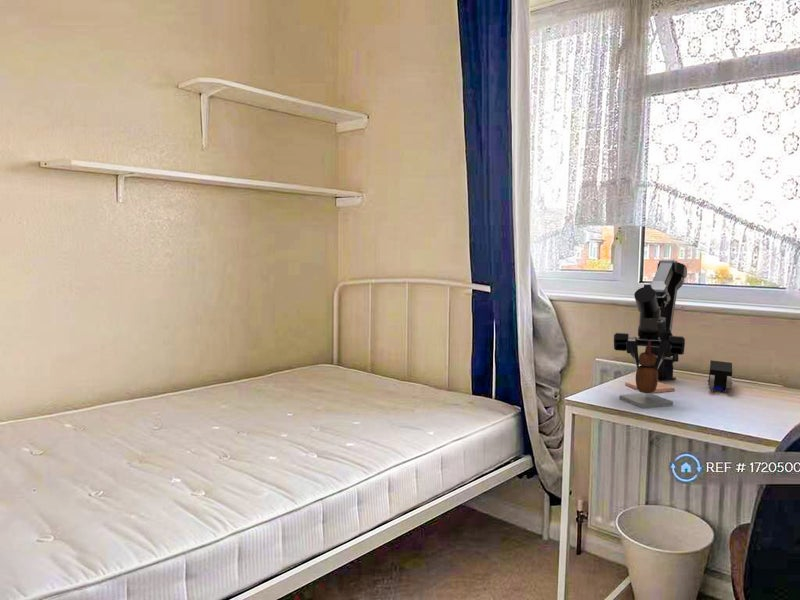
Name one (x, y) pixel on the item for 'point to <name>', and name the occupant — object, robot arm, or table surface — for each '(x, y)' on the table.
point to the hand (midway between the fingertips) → (647, 368)
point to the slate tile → (646, 400)
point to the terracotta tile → (659, 388)
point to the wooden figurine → (647, 371)
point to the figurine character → (720, 375)
